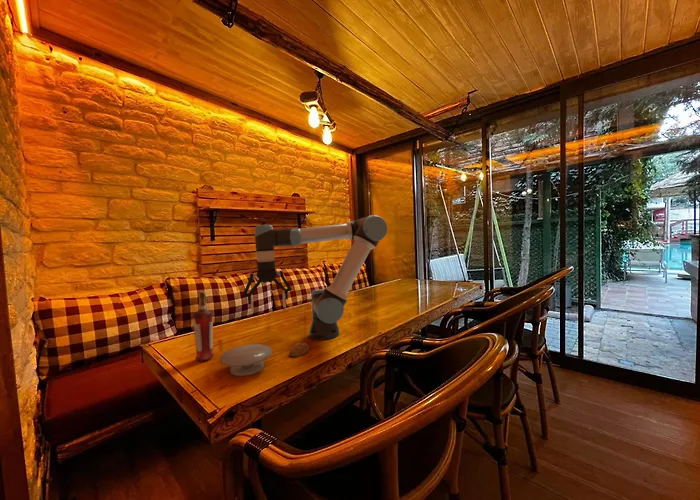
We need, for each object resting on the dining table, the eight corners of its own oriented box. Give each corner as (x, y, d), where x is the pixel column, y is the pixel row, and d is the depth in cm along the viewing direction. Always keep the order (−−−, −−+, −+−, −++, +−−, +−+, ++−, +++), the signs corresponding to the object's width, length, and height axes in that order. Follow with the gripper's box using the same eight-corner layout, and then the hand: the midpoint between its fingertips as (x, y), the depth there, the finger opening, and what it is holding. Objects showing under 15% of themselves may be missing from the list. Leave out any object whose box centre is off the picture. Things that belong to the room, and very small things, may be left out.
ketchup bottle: (193, 358, 120) (190, 291, 119) (212, 353, 125) (209, 289, 123) (196, 364, 114) (193, 294, 113) (216, 359, 119) (213, 291, 118)
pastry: (299, 358, 117) (299, 349, 117) (285, 357, 119) (284, 348, 119) (310, 350, 126) (309, 341, 126) (296, 348, 128) (295, 340, 128)
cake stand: (276, 357, 118) (276, 343, 118) (265, 379, 100) (264, 362, 100) (232, 359, 118) (231, 345, 117) (212, 381, 100) (211, 364, 100)
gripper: (292, 258, 133) (295, 303, 134) (234, 262, 123) (238, 311, 124) (296, 259, 126) (299, 307, 127) (234, 263, 116) (238, 315, 117)
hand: (268, 309), depth 125 cm, fingers open, 13 cm apart
